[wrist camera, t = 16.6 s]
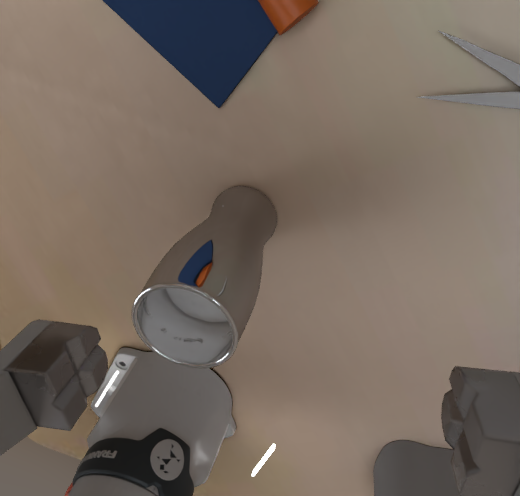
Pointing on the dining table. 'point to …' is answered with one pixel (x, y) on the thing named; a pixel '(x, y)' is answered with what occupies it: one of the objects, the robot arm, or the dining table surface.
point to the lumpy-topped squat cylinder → (414, 470)
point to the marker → (286, 12)
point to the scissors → (502, 65)
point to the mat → (202, 38)
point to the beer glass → (207, 283)
